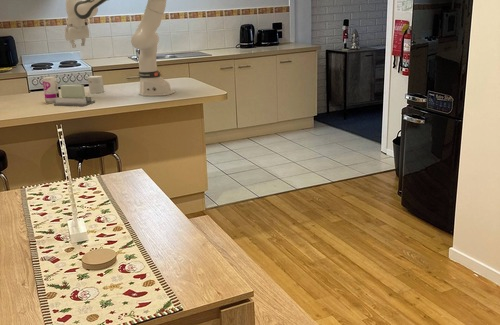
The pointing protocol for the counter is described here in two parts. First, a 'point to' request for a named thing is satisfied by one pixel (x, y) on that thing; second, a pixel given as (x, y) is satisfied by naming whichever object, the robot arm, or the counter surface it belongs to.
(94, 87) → the small box
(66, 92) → the door panel
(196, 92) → the counter surface
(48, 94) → the supplement can
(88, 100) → the bottom track
